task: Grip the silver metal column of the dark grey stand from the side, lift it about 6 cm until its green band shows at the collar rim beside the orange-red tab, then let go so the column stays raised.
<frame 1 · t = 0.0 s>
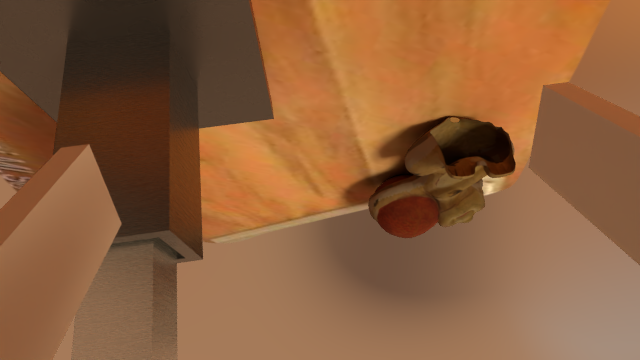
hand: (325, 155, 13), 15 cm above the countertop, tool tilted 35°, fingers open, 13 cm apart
beige sneaker: (428, 150, 50), on the countertop
stand: (139, 51, 28), on the countertop
column: (130, 291, 22), point 16 cm above the countertop, slide at 0.0 cm
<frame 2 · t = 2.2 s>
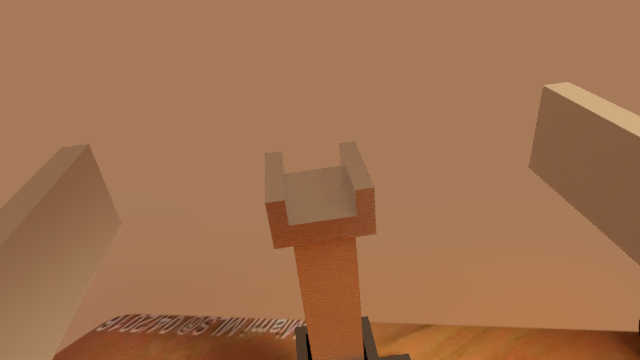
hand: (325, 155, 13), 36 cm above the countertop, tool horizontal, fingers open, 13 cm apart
column: (334, 335, 31), point 16 cm above the countertop, slide at 0.0 cm
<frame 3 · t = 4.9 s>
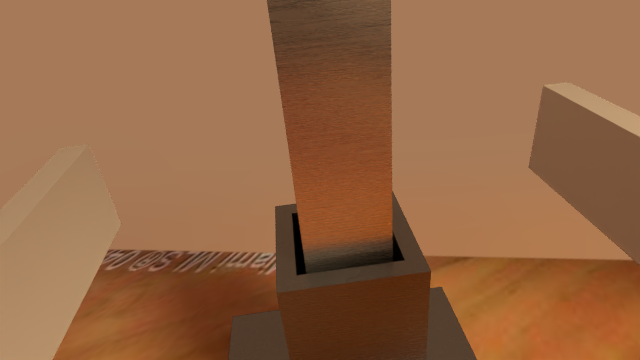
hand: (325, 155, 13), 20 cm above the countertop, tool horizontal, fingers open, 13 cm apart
column: (339, 196, 18), point 16 cm above the countertop, slide at 0.0 cm
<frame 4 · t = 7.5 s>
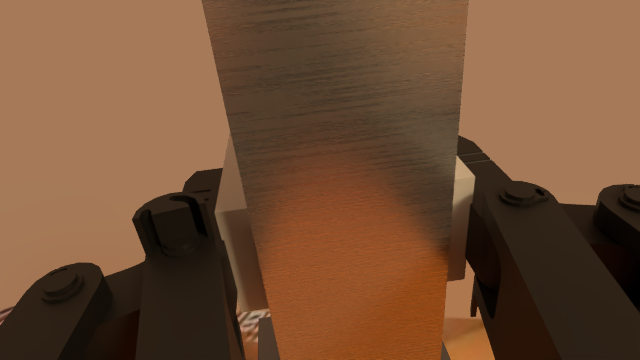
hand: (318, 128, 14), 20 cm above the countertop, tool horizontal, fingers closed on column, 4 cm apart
column: (352, 336, 12), point 16 cm above the countertop, slide at 0.0 cm, touching gripper
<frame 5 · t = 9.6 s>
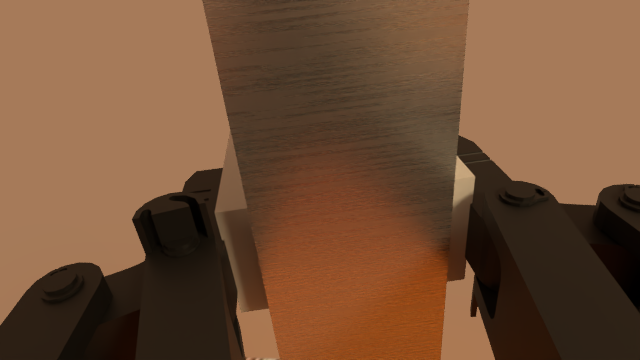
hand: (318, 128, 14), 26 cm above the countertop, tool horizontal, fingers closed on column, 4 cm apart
column: (352, 336, 12), point 22 cm above the countertop, slide at 5.9 cm, touching gripper
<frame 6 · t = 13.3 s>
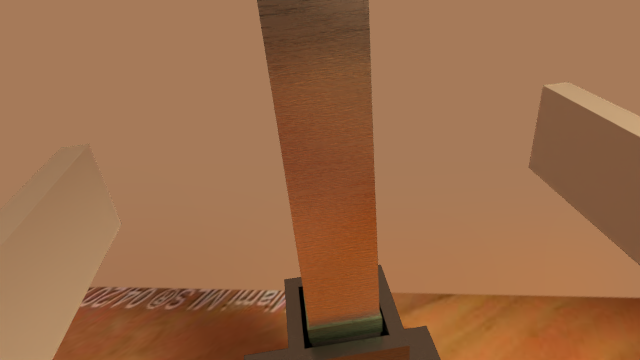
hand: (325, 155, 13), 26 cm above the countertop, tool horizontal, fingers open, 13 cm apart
column: (328, 186, 19), point 22 cm above the countertop, slide at 6.0 cm
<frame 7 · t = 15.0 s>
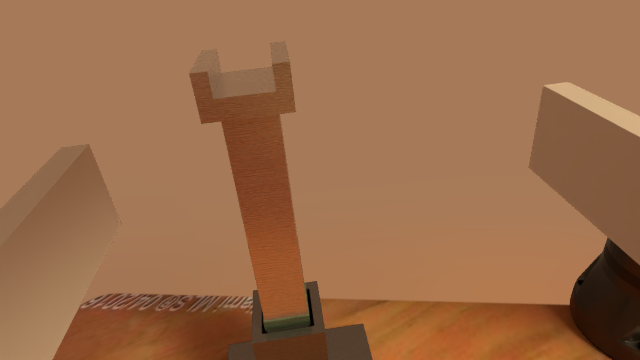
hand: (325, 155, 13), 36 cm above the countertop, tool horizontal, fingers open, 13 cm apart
column: (273, 237, 33), point 22 cm above the countertop, slide at 6.0 cm
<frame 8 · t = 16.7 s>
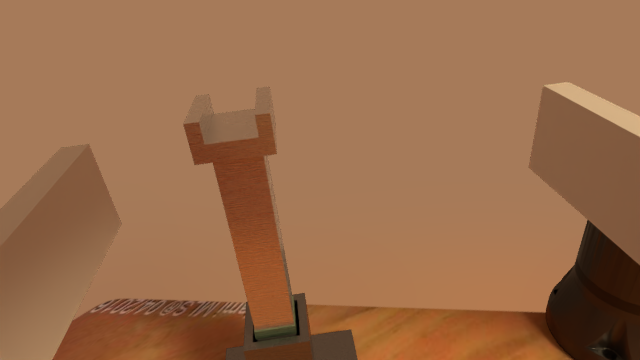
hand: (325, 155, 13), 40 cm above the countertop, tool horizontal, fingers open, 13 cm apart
column: (262, 256, 37), point 22 cm above the countertop, slide at 6.0 cm
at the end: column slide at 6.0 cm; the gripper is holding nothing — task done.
